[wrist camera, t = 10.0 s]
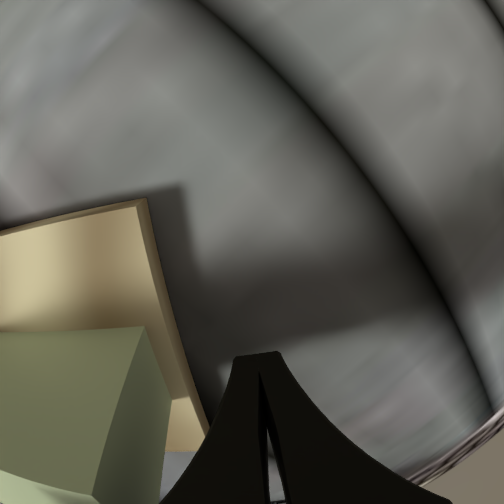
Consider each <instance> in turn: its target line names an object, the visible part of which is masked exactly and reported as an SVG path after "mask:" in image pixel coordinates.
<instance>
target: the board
mask: <svg viewBox="0 0 504 504" xmlns="http://www.w3.org/2000/svg"><path fill="white" fill-rule="evenodd" d="M137 326H145V329H146V332H147V335H148V338H149V341H150V344H151V346H152V349H153V352H154V355H155V357H156V360H157V363H158V366H159V368H160V371H161V373H162V376H163V379H164V381H165V384H166V386H167V389H168V391H169V394H170V396H171V398H172V405H171V411H170V418H169V425H168V432H167V439H166V446H165V451H198V449H199V447H200V446H201V444H202V442H203V440H204V438H205V436H206V435H207V432H208V430H209V428H210V427H209V424H208V421H207V419H206V416H205V413H204V410H203V407H202V404H201V402H200V399H199V396H198V393H197V390H196V387H195V384H194V381H193V378H192V375H191V371H190V368H189V365H188V362H187V359H186V356H185V352H184V349H183V346H182V342H181V339H180V335H179V332H178V328H177V325H176V321H175V318H174V314H173V311H172V307H171V303H170V299H169V296H168V292H167V288H166V284H165V280H164V276H163V272H162V268H161V263H160V259H159V255H158V250H157V246H156V241H155V237H154V232H153V228H152V223H151V218H150V213H149V208H148V203H147V198H142V199H136V200H131V201H126V202H121V203H116V204H111V205H106V206H101V207H96V208H92V209H87V210H82V211H78V212H73V213H69V214H65V215H60V216H56V217H52V218H48V219H44V220H40V221H36V222H32V223H28V224H24V225H20V226H16V227H13V228H9V229H5V230H2V231H0V332H48V331H74V330H93V329H110V328H124V327H137Z"/></svg>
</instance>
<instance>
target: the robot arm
mask: <svg viewBox="0 0 504 504" xmlns="http://www.w3.org/2000/svg"><path fill="white" fill-rule="evenodd" d="M267 429H268V433H269V437H270V440H271V444H272V448H273V452H274V456H275V459H276V463H277V467H278V471H279V474H280V478H281V482H282V486H283V491H284V495H285V501H286V503H280V504H452V502H451V501H450V500H449V499H446V498H444V497H441V496H439V495H437V494H434V493H432V492H430V491H428V490H426V489H424V488H422V487H419V486H417V485H415V484H414V483H412V482H410V481H408V480H406V479H405V478H403V477H401V476H399V475H398V474H396V473H394V472H393V471H391V470H390V469H388V468H387V467H385V466H384V465H382V464H381V463H379V462H378V461H376V460H375V459H374V458H372V457H371V456H369V455H368V454H367V453H365V452H364V451H363V450H362V449H360V448H359V447H358V446H357V445H355V444H354V443H353V442H352V441H351V440H349V439H348V438H347V437H346V436H345V435H344V434H343V433H342V432H341V431H340V430H338V429H337V428H336V427H335V426H334V425H333V424H332V423H331V422H330V421H329V420H328V418H327V417H326V416H325V415H324V414H323V413H322V412H321V411H320V410H319V409H318V408H317V406H316V405H315V404H314V403H313V402H312V400H311V399H310V398H309V397H308V395H307V394H306V393H305V391H304V390H303V389H302V388H301V386H300V385H299V384H298V382H297V381H296V379H295V378H294V376H293V375H292V373H291V372H290V370H289V368H288V367H287V365H286V363H285V361H284V359H283V357H282V355H281V353H279V352H278V351H273V352H266V353H259V354H252V355H244V356H236V357H235V358H234V359H233V364H232V369H231V373H230V377H229V381H228V384H227V387H226V390H225V393H224V395H223V398H222V401H221V403H220V406H219V409H218V411H217V413H216V416H215V418H214V420H213V422H212V424H211V426H210V428H209V430H208V432H207V435H206V436H205V438H204V440H203V442H202V444H201V446H200V447H199V449H198V451H197V453H196V454H195V456H194V457H193V459H192V461H191V462H190V464H189V465H188V467H187V468H186V470H185V471H184V473H183V474H182V475H181V477H180V478H179V480H178V481H177V482H176V484H175V485H174V486H173V488H172V489H171V490H170V491H169V493H168V494H167V495H166V496H165V497H164V499H163V500H162V501H161V502H160V503H159V504H271V502H270V493H269V475H268V445H267Z"/></svg>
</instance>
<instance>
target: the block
mask: <svg viewBox="0 0 504 504" xmlns="http://www.w3.org/2000/svg"><path fill="white" fill-rule="evenodd" d="M171 405H172V398H171V396H170V394H169V391H168V389H167V386H166V384H165V381H164V379H163V376H162V373H161V371H160V368H159V366H158V363H157V360H156V357H155V355H154V352H153V349H152V346H151V344H150V341H149V338H148V335H147V332H146V329H145V326H137V327H124V328H110V329H93V330H74V331H48V332H0V502H1V503H3V504H159V496H160V486H161V478H162V469H163V461H164V454H165V446H166V439H167V432H168V425H169V418H170V411H171Z"/></svg>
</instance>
